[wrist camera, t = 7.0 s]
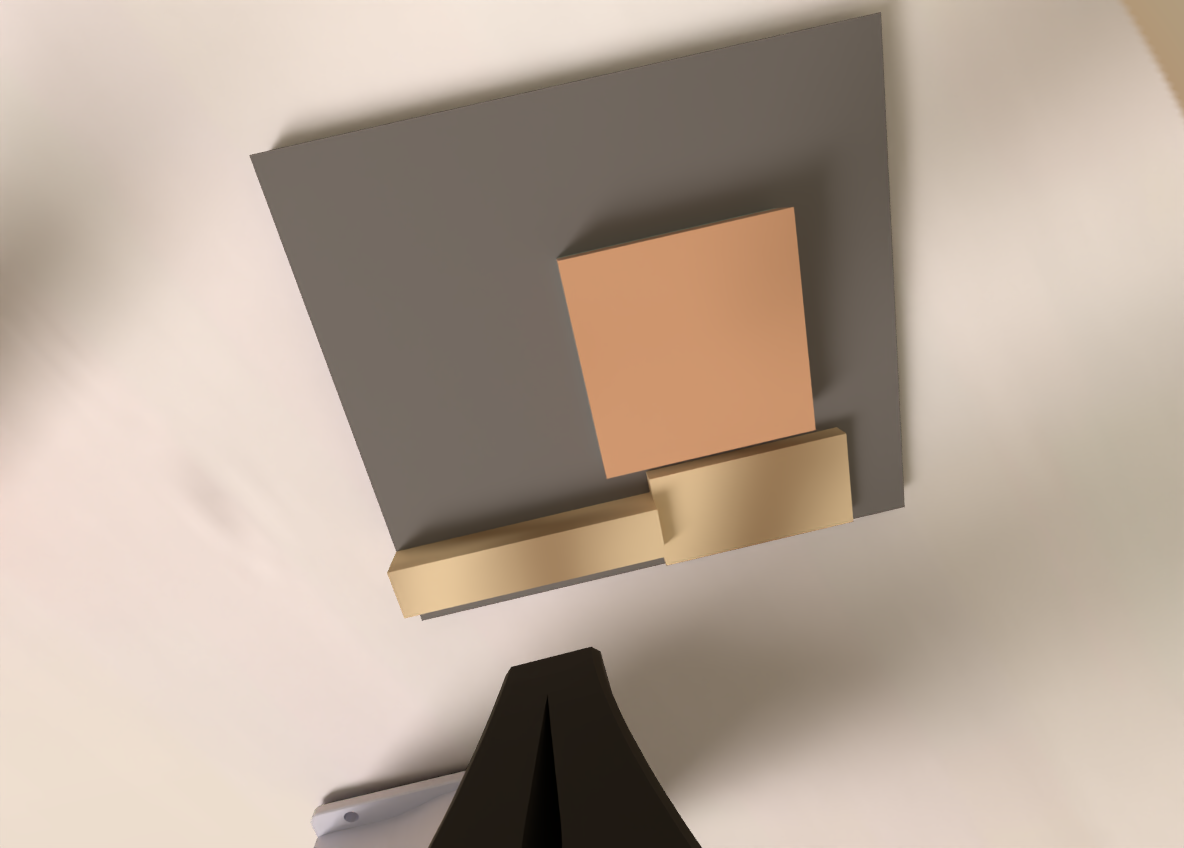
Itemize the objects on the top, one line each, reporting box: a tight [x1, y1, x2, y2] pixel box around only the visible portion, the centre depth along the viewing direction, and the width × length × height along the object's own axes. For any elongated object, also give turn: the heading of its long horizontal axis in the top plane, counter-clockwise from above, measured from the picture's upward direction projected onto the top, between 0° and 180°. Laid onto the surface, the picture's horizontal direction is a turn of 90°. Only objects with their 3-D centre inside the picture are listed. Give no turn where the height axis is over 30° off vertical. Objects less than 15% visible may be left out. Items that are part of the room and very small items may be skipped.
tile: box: [556, 207, 816, 479], centre depth 16 cm, size 1×6×6 cm
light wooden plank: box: [387, 427, 853, 618], centre depth 18 cm, size 14×3×1 cm, turn 102°
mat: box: [250, 12, 905, 621], centre depth 17 cm, size 16×14×1 cm
